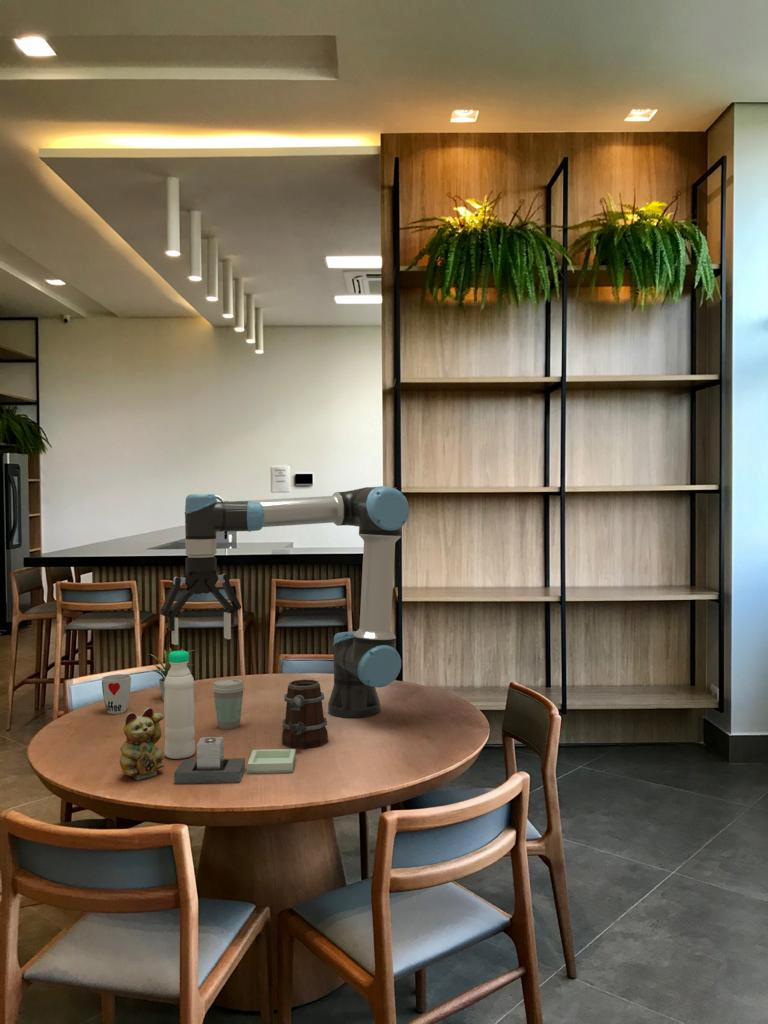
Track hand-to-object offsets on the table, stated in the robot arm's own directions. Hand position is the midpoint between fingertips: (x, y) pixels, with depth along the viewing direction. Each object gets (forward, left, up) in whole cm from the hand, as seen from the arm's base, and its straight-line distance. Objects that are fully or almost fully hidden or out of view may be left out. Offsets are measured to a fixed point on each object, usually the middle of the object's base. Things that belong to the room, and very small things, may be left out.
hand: (201, 641), depth 198 cm
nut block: (-6, +22, -26) cm, 35 cm away
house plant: (+17, -47, -26) cm, 57 cm away
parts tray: (-19, +16, -26) cm, 36 cm away
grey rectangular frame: (-6, +22, -26) cm, 35 cm away
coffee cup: (-4, -17, -26) cm, 32 cm away
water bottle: (+4, +7, -26) cm, 28 cm away
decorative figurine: (+10, +20, -26) cm, 35 cm away
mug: (-25, 0, -26) cm, 36 cm away
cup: (+31, -34, -26) cm, 53 cm away
